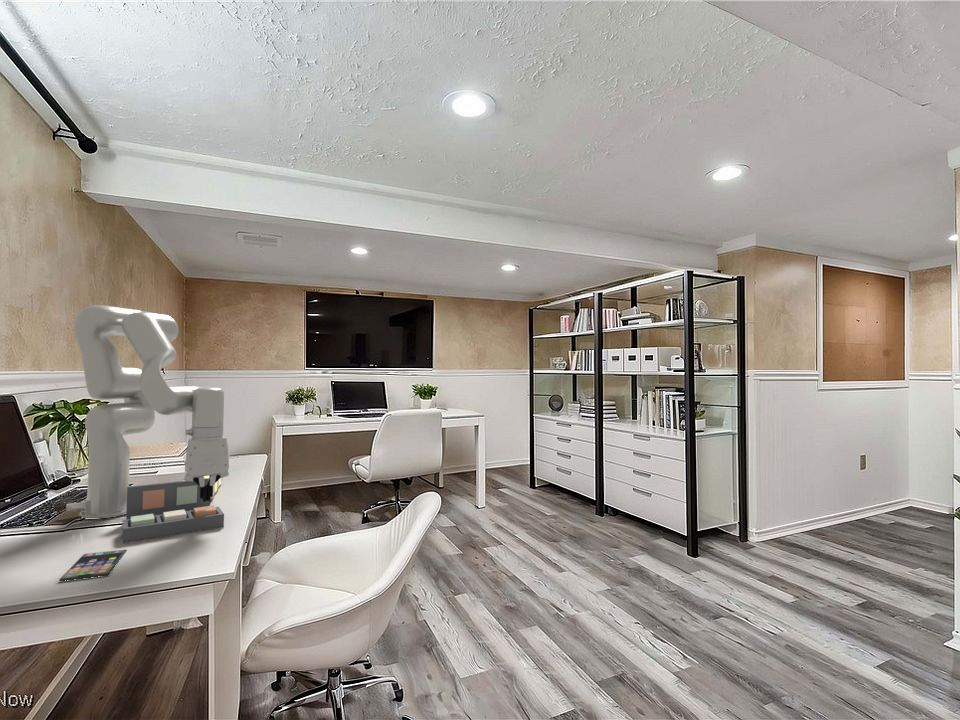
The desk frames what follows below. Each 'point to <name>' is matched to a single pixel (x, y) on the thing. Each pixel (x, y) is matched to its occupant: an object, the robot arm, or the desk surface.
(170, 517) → the key cream
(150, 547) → the desk surface
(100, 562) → the smartphone
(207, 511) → the key terracotta
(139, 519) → the key sage
